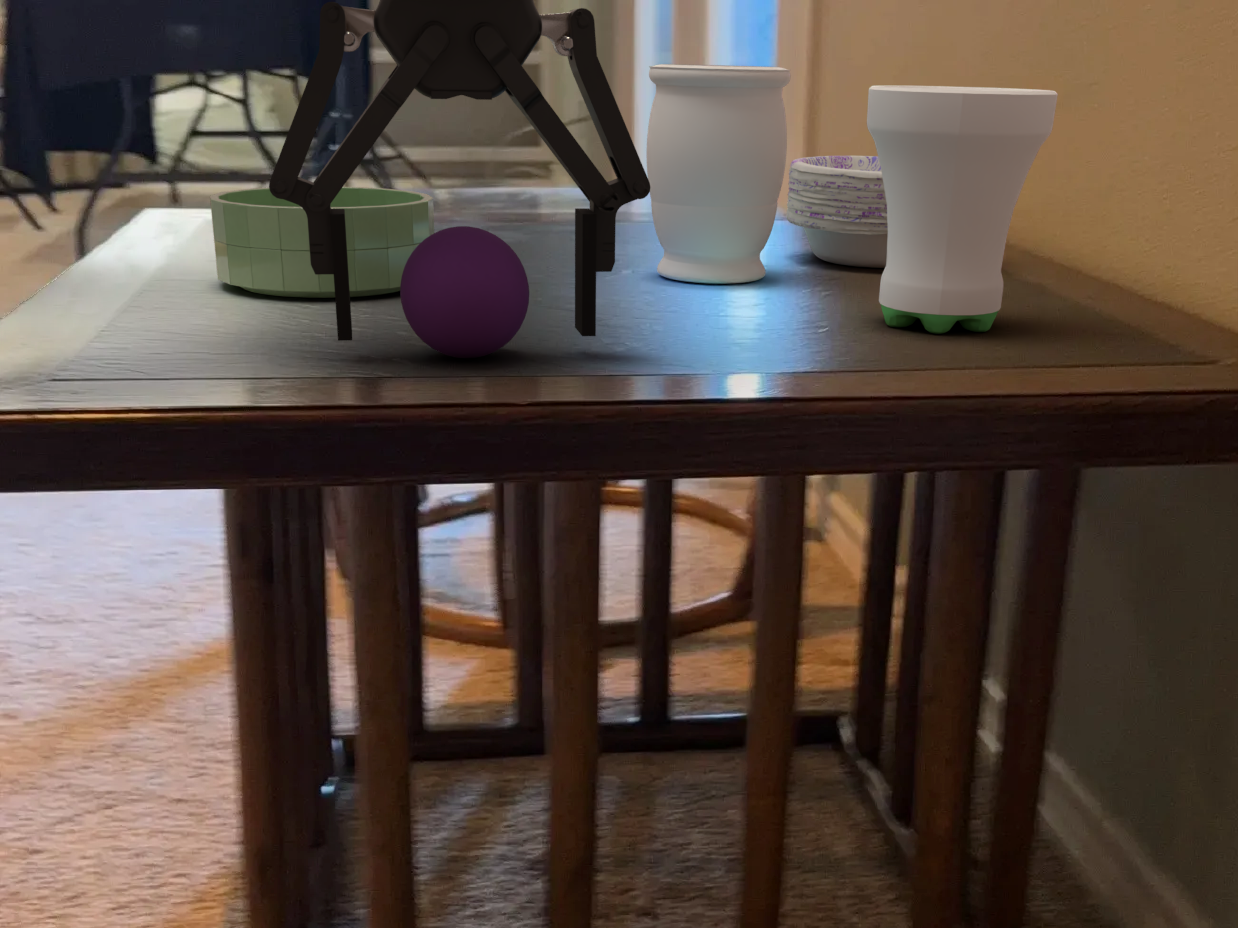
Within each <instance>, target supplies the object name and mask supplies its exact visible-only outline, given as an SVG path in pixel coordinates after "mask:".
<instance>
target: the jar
mask: <svg viewBox="0 0 1238 928" xmlns="http://www.w3.org/2000/svg"><path fill="white" fill-rule="evenodd" d="M648 67H649V71H648V77H649V80H650V81H651V82H652V83H653V84H655V94H654V97H653V100H652V103H651V108H650V112H649V118H648V119H649V120H648V127H647V135H646V175H647V178H648V180H649V183H650V192H649V196H650V206H651V207H650V208H651V216H652V221H653V226H654V231H655V234H656V236H657V239H658V242H659V245H660V246H661V247H662V249H663V256H662V258H661V260H660V261H659V262H658V263H657V267H656V272H657V273H658V275H660V276H662V277H664V278H667V279H670V280H675V281H679V282H686V283H687V282H688V283H695V284H696V283H699V284H714V285H715V284H722V285H723V284H726V285H727V284H742V283H750V282H755V281H758V280H761V279H763V278H765V276H766V268H765V266H764V264H763V262H762V260H761V253H762V251H763V250H764V249H765V247H766V244H767V243H768V241H769V238H770V236H771V234H772V231H773V227H774V224H775V220H776V216H777V210H778V200H779V198H780V193H781V191H782V186H783V182H784V176H785V171H786V163H787V149H788V131H787V130H788V129H787V116H786V109H785V102H784V99H783V90H784V87H786V86H788V84H789V83H790V81H791V76H792V75H791V72H790V71H791V69H787V68H785V67H781V66H763V65H762V66H759V65H758V66H757V65H756V66H755V65H721V64H680V63H679V64H677V63H674V64H673V63H672V64H671V63H670V64H669V63H668V64H667V63H662V64H661V63H660V64H655V65H649V66H648Z"/></svg>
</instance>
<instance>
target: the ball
mask: <svg viewBox="0 0 1238 928" xmlns="http://www.w3.org/2000/svg"><path fill="white" fill-rule="evenodd" d="M528 280H529V279H528V276H527V273H526V269H525V267H524V265H523V263H522V261H521V259H520V258H519V256H518V255H517V253H516V252H515V250H514V249H513V248H512V246H510V245H509V244H508V243H507V242H505V240H504V239H502V238H500V236H497V235H496V234H495V233H492V232H491V231H488V230H486V229H482V228H480V227H474V226H468V225H459V226H452V227H447V228H444V229H441V230H438V231H435V232H434V234H432V235H430V236H429V237H427V238H426V239H424V240H423V241H422V242H421V243H420V244H419V245H418V246H417V247H416V248H415V250H414V251H413V252H412V253H411V255H410V257H409V258H408V260H407V262H406V265H405V267H404V270H403V274H402V278H401V285H400V291H399V292H400V293H399V294H400V303H401V308H402V312H403V313H404V316H405V319H406V321H407V322H408V324H409V326H410V328H411V329H412V331H413V332H414V333H415V335H416V336H417V337H418V339H420V341H422V342H423V343H424V344H425V345H426V346H428V347H430V348H431V349H433V350H434V351H436V352H438V353H440V354H442V355H445V356H449V357H451V358H452V357H453V358H458V359H476V358H477V359H478V358H481V357H485V356H488V355H490V354H493V353H494V352H497V351H498V350H500V349H502V348H503V347H504V346H506V345H507V344H508V343H510V342H511V340H513V338H514V337H515V336H516V335H517V333H518V332H519V330H520V329H521V327H522V325H523V322H524V321H525V318H526V316H527V313H528V309H529V303H530V285H529V281H528Z"/></svg>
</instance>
